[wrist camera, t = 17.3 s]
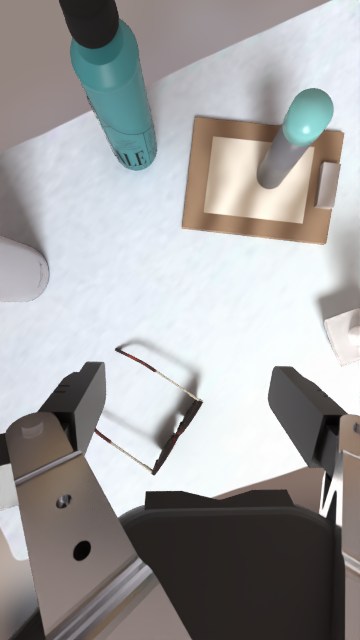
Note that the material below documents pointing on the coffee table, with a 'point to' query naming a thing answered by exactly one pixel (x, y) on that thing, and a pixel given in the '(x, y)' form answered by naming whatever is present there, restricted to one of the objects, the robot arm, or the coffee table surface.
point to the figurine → (345, 336)
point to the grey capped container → (295, 135)
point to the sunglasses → (174, 437)
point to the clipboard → (246, 193)
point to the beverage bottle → (112, 78)
